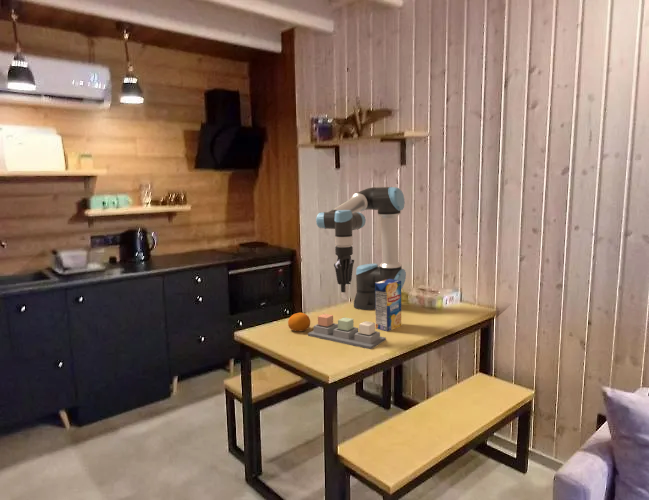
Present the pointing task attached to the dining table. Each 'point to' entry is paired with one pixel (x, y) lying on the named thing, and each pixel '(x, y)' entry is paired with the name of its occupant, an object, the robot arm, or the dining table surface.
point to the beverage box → (388, 304)
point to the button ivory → (366, 328)
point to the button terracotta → (325, 320)
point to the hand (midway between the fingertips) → (344, 298)
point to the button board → (347, 336)
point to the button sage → (345, 324)
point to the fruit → (299, 322)
